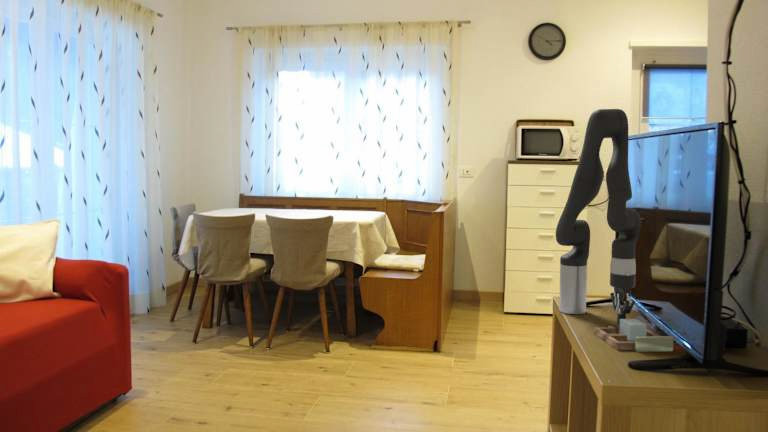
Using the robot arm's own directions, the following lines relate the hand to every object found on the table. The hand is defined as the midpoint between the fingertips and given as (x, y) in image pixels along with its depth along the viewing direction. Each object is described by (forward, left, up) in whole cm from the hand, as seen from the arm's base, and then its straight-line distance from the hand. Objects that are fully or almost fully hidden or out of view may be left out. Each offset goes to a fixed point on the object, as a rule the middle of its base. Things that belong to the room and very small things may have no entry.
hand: (621, 325), depth 190 cm
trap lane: (+12, -3, -1) cm, 13 cm away
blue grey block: (+8, 0, -2) cm, 8 cm away
